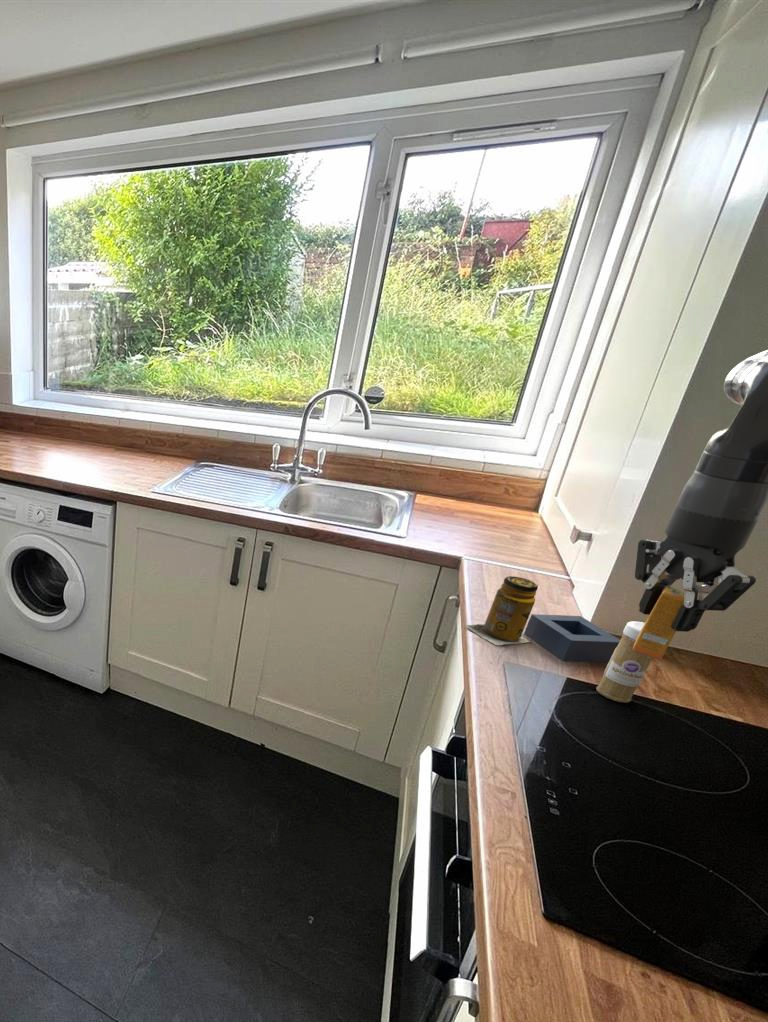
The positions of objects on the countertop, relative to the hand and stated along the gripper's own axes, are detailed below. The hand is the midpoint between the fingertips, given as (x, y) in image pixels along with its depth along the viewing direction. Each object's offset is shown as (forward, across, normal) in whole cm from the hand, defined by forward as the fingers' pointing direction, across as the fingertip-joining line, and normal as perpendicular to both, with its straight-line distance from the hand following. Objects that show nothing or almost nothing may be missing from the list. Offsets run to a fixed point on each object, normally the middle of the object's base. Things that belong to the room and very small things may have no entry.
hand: (663, 620), depth 83 cm
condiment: (+19, +28, -2) cm, 34 cm away
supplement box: (+5, 0, 0) cm, 5 cm away
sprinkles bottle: (+20, +9, -8) cm, 23 cm away
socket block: (+19, +24, -13) cm, 34 cm away
